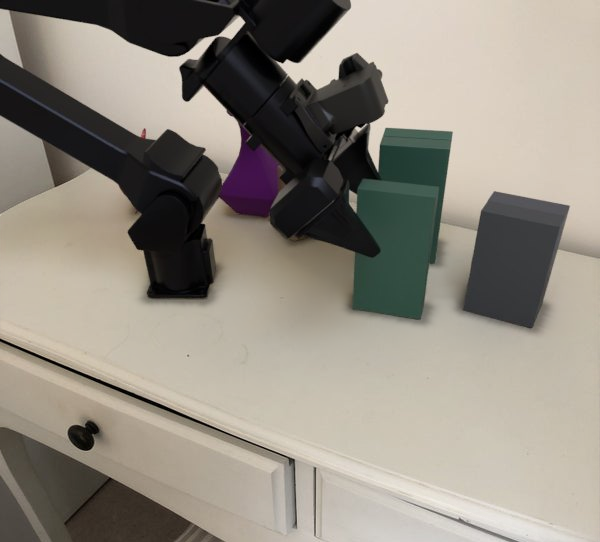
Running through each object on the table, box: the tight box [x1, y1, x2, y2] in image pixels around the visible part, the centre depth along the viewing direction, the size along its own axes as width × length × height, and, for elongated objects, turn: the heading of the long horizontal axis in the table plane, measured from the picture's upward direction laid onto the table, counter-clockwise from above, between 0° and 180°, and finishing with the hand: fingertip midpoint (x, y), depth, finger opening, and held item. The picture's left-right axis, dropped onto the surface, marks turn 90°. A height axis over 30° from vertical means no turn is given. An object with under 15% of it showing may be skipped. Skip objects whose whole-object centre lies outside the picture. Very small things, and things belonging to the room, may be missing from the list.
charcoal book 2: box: [487, 190, 571, 314], centre depth 63 cm, size 7×2×11 cm, turn 62°
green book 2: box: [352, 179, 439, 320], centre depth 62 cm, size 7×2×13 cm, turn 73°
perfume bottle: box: [219, 109, 279, 218], centre depth 77 cm, size 8×8×18 cm
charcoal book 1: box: [462, 200, 565, 329], centre depth 61 cm, size 7×2×11 cm, turn 62°
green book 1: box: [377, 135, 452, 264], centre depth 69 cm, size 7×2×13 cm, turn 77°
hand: (383, 229), depth 61 cm, fingers open, 9 cm apart
